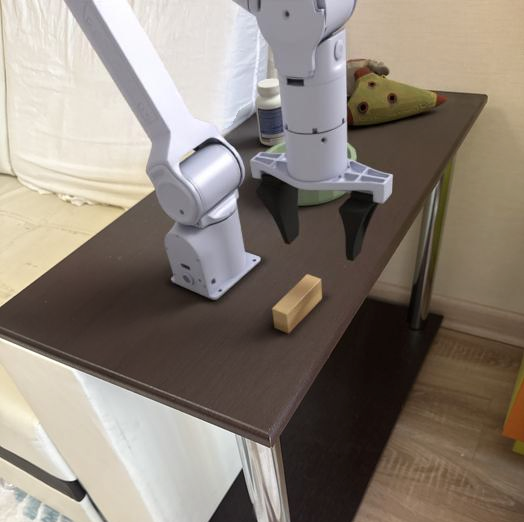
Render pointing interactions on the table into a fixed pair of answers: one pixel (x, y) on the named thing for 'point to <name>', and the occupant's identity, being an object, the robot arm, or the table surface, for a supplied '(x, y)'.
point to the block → (297, 303)
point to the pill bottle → (269, 112)
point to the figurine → (360, 63)
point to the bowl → (315, 195)
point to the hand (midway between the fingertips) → (321, 247)
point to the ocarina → (386, 99)
